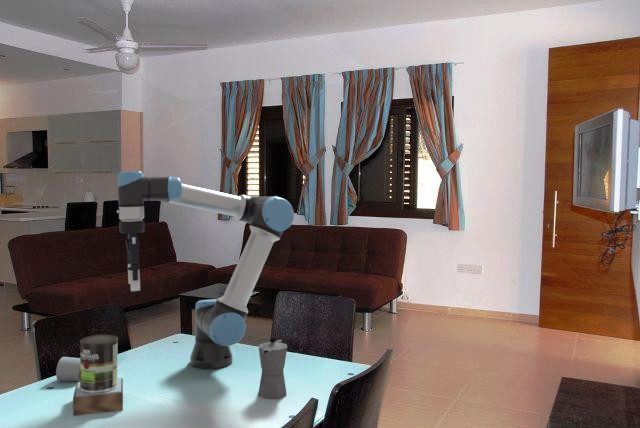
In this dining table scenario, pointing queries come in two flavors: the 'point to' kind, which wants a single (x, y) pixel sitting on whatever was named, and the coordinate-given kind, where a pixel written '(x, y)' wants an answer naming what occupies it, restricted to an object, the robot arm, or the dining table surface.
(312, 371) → the dining table surface
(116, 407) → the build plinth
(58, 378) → the ceramic mug
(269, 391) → the coffeepot
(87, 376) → the coffee can
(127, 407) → the dining table surface
